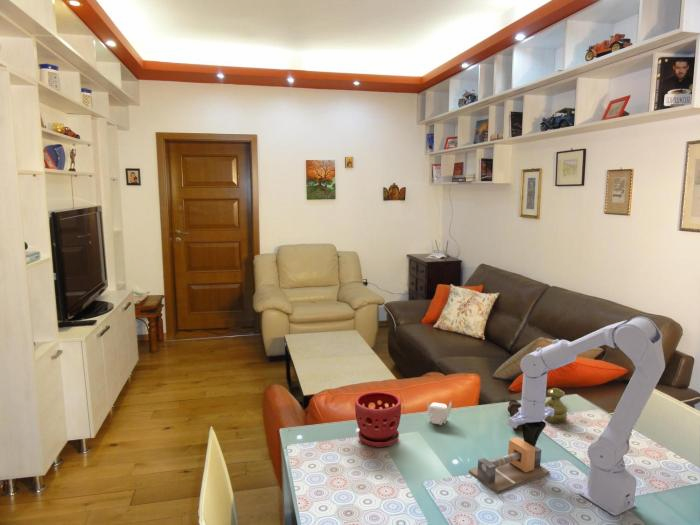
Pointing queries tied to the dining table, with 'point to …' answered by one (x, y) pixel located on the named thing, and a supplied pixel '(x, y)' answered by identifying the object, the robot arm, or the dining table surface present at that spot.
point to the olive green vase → (556, 407)
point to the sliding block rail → (507, 471)
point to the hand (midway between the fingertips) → (529, 446)
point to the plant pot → (378, 418)
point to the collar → (522, 454)
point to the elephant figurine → (438, 412)
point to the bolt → (514, 411)
